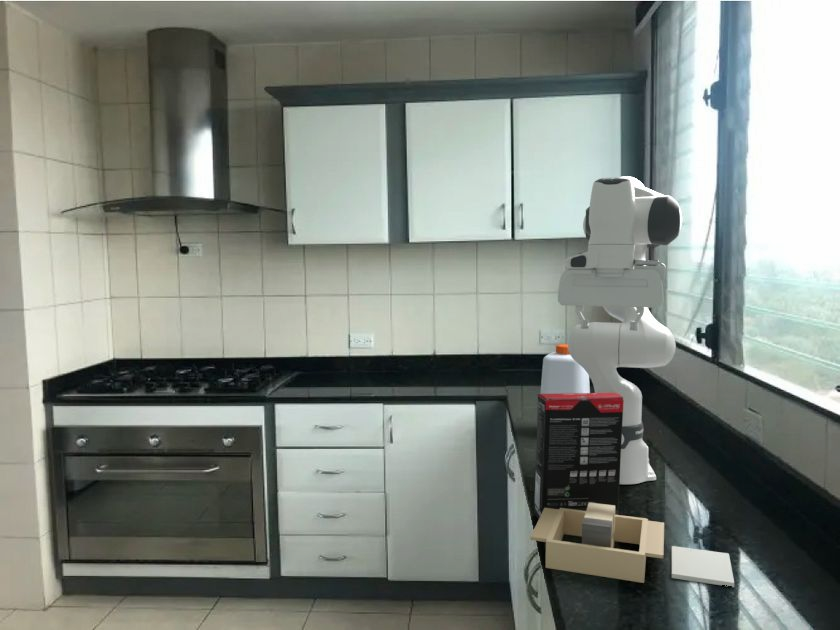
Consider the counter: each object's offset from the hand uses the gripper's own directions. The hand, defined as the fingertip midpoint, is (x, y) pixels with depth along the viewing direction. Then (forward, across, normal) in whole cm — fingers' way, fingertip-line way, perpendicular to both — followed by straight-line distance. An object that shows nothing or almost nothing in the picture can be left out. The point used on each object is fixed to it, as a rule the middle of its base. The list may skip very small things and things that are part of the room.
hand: (609, 329), depth 137 cm
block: (+42, 0, +11) cm, 43 cm away
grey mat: (+42, -18, +10) cm, 47 cm away
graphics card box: (+42, +6, -5) cm, 42 cm away
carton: (+42, 0, +11) cm, 43 cm away
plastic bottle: (+40, +18, -71) cm, 83 cm away
